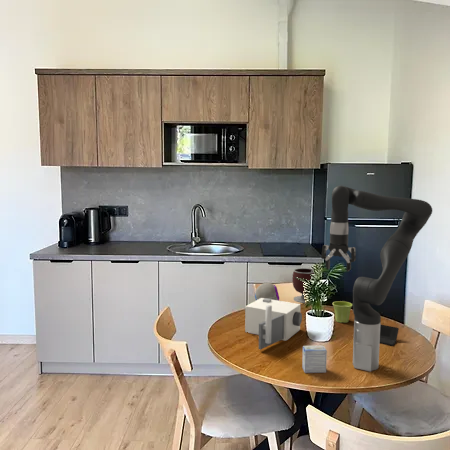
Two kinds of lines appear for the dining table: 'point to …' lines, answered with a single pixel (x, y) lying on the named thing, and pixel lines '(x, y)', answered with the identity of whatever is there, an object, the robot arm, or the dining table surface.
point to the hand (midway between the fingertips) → (337, 270)
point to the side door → (271, 329)
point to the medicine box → (314, 359)
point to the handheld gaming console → (388, 335)
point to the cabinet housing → (273, 315)
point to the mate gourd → (299, 284)
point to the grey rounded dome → (267, 291)
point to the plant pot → (342, 311)
